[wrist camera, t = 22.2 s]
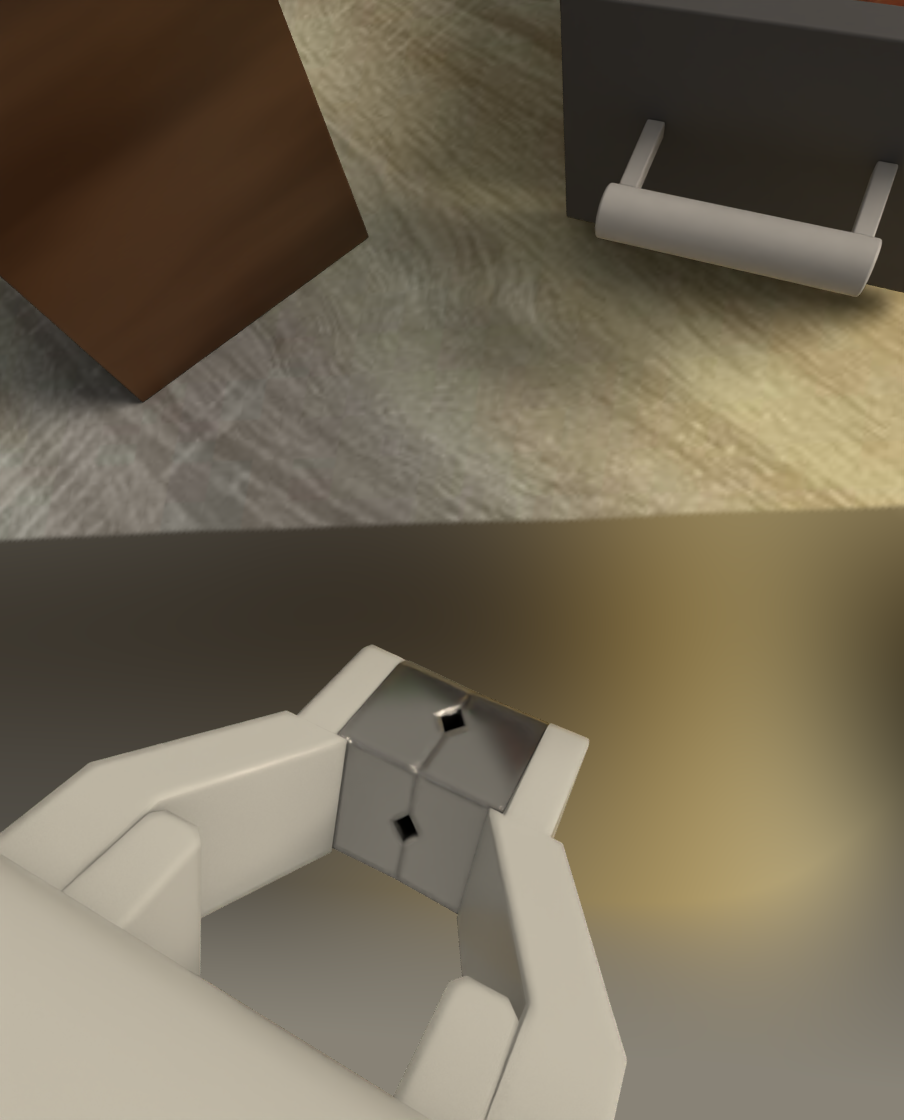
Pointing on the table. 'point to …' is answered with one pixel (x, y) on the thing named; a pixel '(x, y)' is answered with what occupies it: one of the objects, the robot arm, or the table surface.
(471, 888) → the robot arm
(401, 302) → the table surface
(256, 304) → the riser
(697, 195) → the drawer
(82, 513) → the table surface
